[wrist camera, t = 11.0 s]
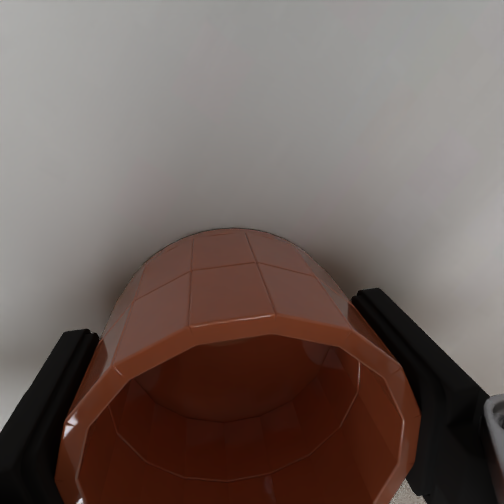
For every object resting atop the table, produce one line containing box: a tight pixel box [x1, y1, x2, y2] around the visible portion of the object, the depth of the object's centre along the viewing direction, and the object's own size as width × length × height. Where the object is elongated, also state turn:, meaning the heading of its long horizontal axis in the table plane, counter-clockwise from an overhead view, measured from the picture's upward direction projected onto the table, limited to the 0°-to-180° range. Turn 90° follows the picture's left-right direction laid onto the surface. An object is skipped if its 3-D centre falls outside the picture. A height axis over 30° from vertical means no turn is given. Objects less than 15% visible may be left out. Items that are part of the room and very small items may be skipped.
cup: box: [54, 228, 422, 504], centre depth 9 cm, size 7×7×4 cm
